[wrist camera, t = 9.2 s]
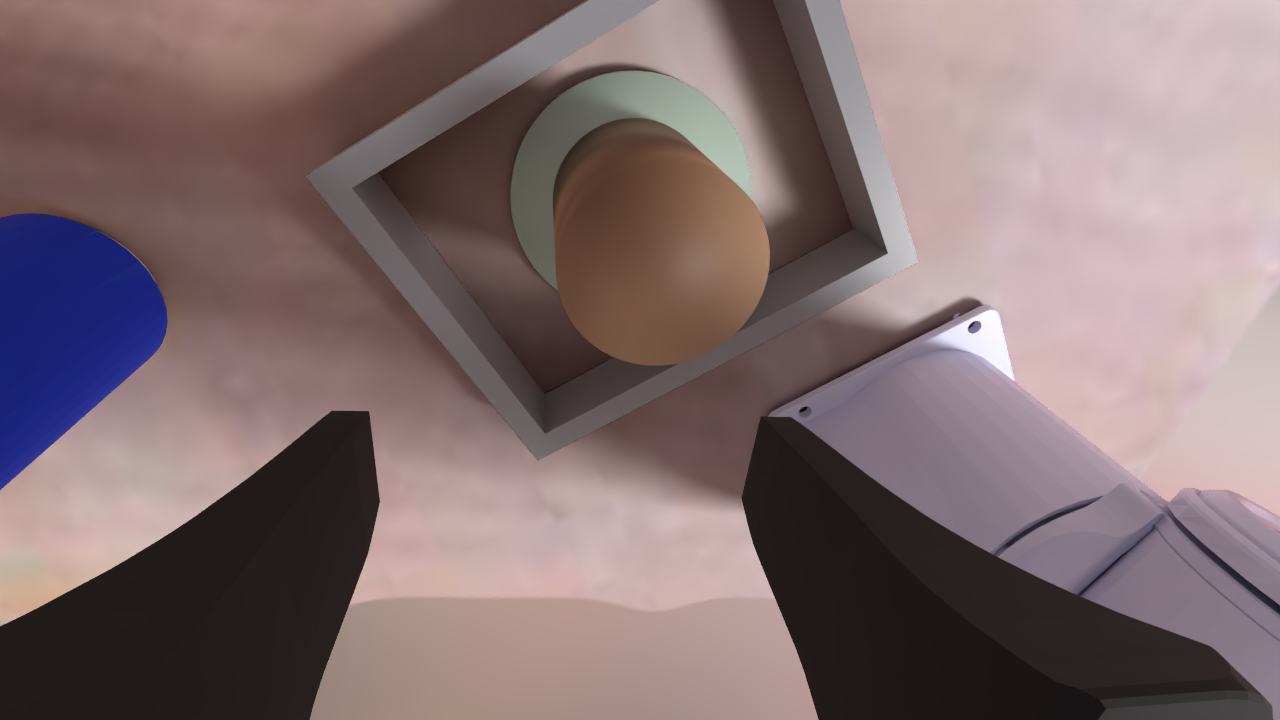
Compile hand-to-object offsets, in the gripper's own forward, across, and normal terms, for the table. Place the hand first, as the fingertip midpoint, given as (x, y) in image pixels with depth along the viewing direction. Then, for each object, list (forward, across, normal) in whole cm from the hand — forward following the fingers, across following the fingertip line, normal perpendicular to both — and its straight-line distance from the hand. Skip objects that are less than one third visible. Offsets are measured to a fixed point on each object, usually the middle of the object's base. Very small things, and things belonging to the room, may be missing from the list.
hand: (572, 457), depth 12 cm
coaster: (+10, -2, -2) cm, 11 cm away
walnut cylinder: (+10, -2, -2) cm, 10 cm away
